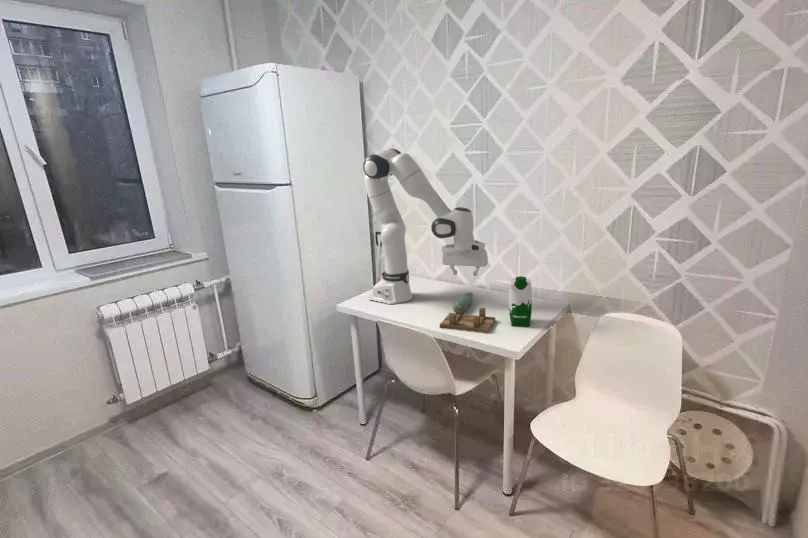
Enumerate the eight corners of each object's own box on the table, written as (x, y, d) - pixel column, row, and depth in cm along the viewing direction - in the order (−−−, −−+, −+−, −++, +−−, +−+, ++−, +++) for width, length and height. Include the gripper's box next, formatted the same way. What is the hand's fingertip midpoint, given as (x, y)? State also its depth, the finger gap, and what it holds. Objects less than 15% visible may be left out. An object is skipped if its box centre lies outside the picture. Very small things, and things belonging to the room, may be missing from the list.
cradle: (488, 333, 163) (487, 320, 162) (439, 327, 171) (439, 315, 170) (495, 320, 174) (495, 308, 173) (449, 316, 183) (449, 304, 181)
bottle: (465, 312, 183) (461, 302, 182) (456, 315, 185) (451, 305, 185) (477, 297, 199) (472, 288, 199) (467, 301, 202) (463, 291, 201)
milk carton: (509, 327, 168) (509, 279, 162) (508, 318, 176) (509, 272, 171) (532, 327, 165) (532, 279, 160) (530, 318, 174) (531, 272, 168)
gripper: (439, 245, 184) (441, 275, 188) (484, 246, 176) (485, 278, 179) (443, 242, 190) (445, 271, 194) (488, 243, 181) (489, 273, 185)
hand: (465, 274), depth 186 cm, fingers open, 8 cm apart
